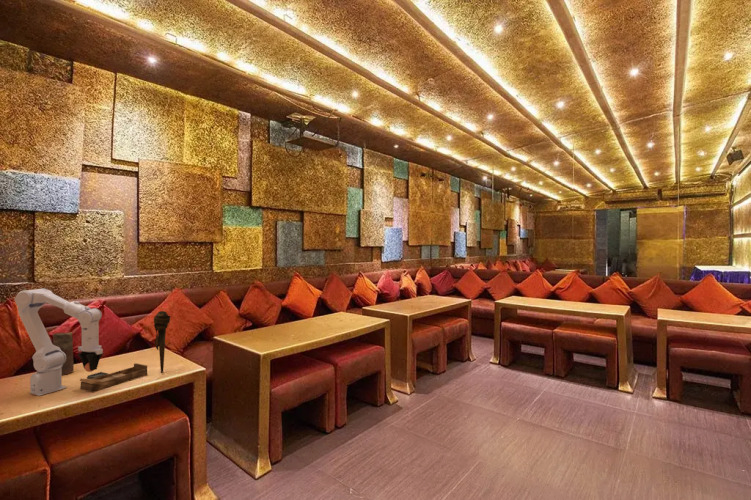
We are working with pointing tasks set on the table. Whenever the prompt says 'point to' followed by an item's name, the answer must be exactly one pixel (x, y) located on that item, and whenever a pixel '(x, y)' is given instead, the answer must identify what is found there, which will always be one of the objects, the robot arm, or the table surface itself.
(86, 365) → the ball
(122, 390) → the table surface
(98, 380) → the lane
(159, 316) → the decorative torch
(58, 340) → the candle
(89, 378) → the grey square tray
